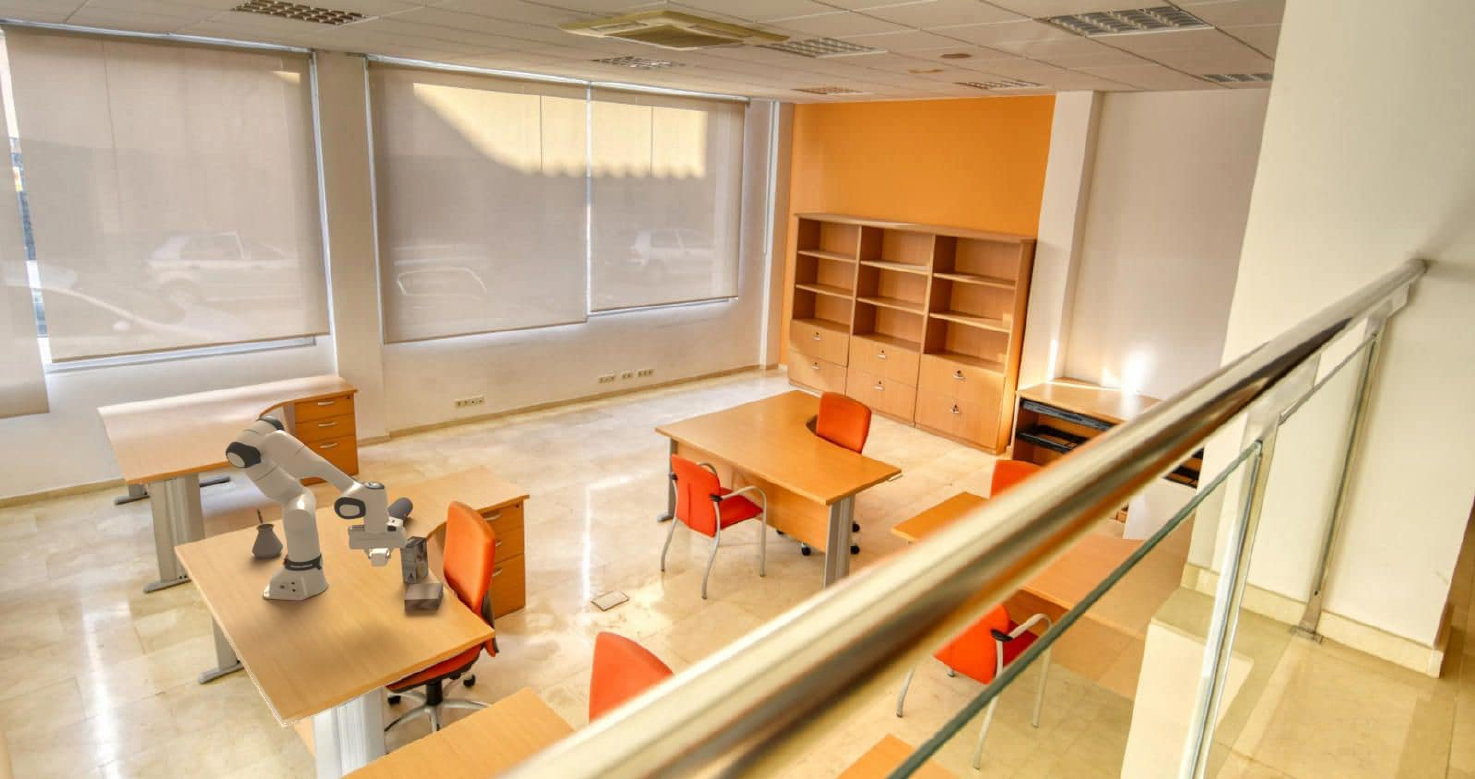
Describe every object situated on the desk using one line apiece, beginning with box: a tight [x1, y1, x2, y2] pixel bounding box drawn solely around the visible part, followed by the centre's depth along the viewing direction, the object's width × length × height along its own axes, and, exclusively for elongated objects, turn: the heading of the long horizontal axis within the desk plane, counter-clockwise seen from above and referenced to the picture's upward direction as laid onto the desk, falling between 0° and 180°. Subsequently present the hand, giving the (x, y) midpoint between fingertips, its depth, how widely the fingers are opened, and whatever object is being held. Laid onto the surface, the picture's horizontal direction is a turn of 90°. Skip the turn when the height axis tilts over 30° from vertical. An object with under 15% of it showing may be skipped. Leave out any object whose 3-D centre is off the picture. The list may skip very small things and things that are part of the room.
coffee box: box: [399, 535, 429, 584], centre depth 350 cm, size 9×6×16 cm
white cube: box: [370, 548, 390, 568], centre depth 326 cm, size 5×5×5 cm
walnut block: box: [403, 582, 444, 612], centre depth 333 cm, size 12×12×5 cm
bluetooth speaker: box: [388, 496, 414, 522], centre depth 394 cm, size 23×9×10 cm, turn 179°
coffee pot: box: [251, 508, 284, 560], centre depth 367 cm, size 21×12×15 cm, turn 37°
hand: (379, 558), depth 326 cm, fingers closed on white cube, 5 cm apart
